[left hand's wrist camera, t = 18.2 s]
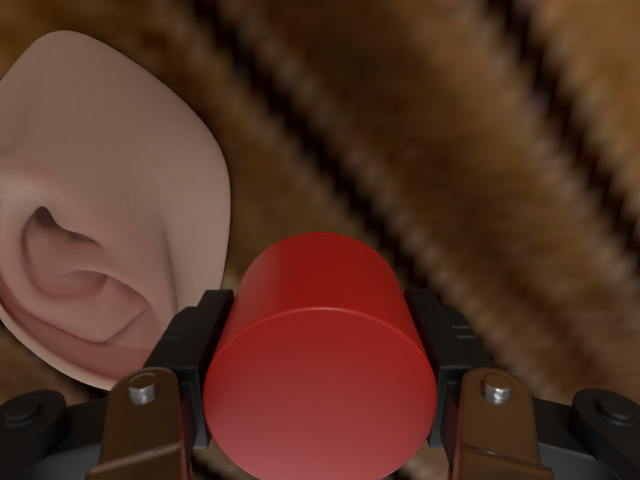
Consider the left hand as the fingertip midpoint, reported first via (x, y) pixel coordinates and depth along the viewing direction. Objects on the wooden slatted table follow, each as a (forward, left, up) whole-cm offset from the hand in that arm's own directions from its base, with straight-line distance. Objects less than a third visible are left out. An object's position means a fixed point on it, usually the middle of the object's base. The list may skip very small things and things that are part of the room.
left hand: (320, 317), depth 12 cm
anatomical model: (+7, -6, -7) cm, 12 cm away
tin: (0, 0, -1) cm, 1 cm away
